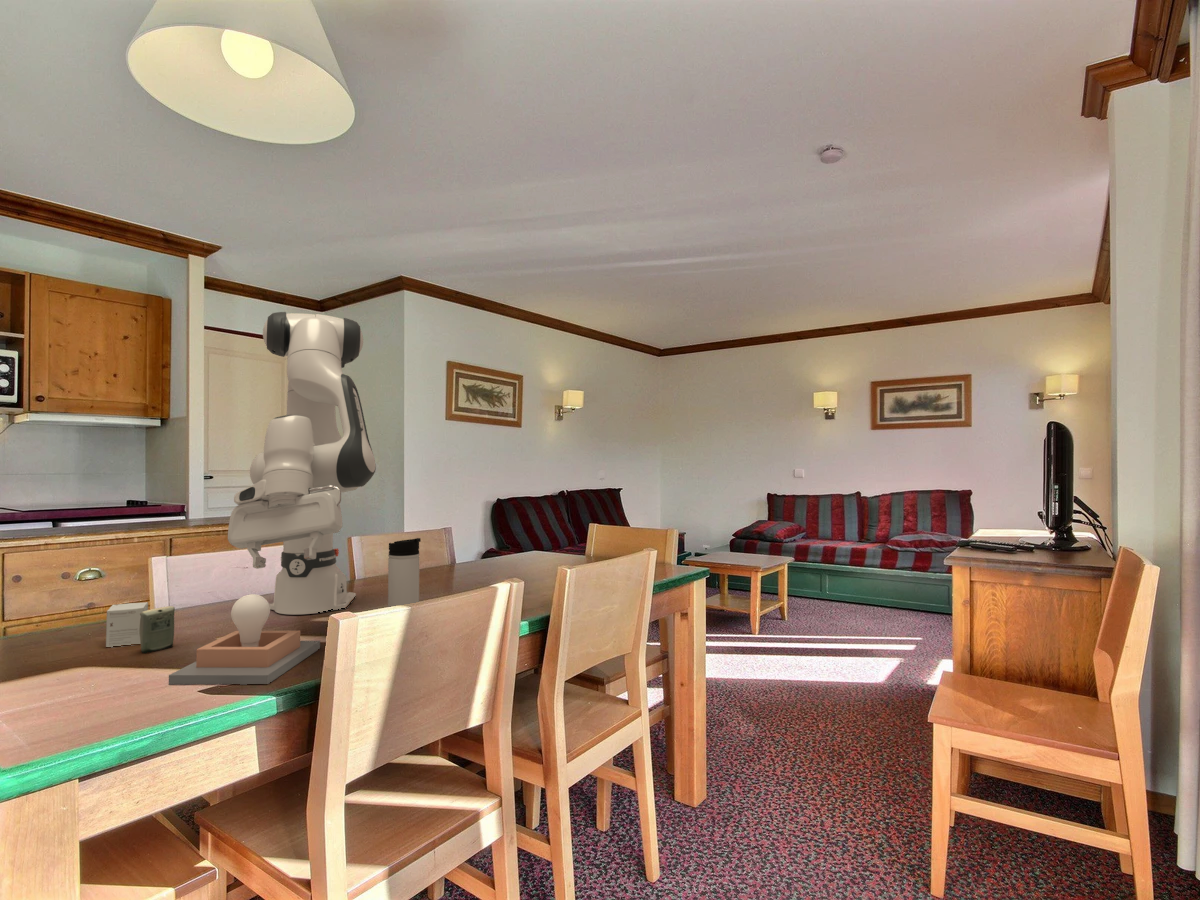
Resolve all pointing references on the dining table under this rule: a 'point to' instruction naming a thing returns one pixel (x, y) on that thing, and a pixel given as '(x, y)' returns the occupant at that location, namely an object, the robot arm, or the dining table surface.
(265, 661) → the board
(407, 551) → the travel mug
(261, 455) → the robot arm
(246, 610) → the lightbulb
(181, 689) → the dining table surface
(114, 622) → the product box
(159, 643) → the labelled grey plug block
